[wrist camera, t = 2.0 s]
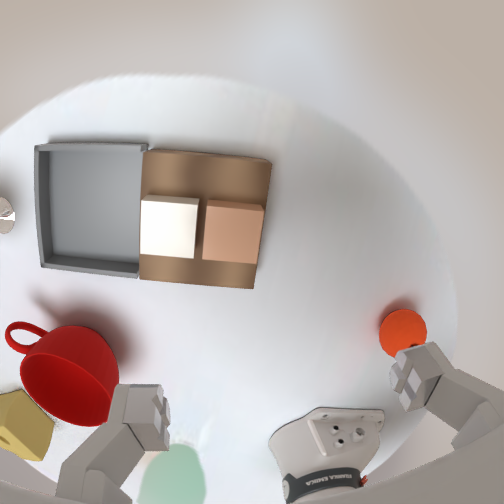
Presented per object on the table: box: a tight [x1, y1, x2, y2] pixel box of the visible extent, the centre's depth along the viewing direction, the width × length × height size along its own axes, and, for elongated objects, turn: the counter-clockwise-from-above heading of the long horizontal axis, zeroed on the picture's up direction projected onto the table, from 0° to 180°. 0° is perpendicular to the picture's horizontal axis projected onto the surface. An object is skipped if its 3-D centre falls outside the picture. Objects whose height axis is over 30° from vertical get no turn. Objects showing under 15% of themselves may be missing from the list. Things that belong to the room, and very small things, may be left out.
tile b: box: [202, 199, 264, 264], centre depth 30 cm, size 5×5×2 cm
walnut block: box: [139, 149, 272, 289], centre depth 32 cm, size 12×13×4 cm
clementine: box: [379, 309, 427, 358], centre depth 39 cm, size 8×7×7 cm
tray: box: [34, 143, 148, 279], centre depth 31 cm, size 12×14×3 cm
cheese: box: [0, 390, 54, 461], centre depth 40 cm, size 10×11×10 cm
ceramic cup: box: [5, 322, 119, 427], centre depth 34 cm, size 13×17×10 cm
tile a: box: [140, 195, 199, 258], centre depth 29 cm, size 5×5×2 cm
